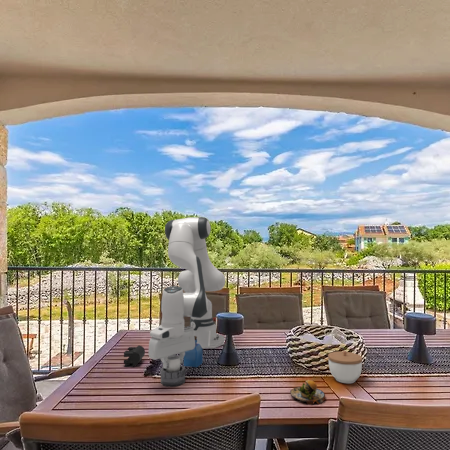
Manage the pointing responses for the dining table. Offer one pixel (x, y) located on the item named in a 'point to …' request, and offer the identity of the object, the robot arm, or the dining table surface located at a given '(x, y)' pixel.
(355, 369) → the lidded bowl
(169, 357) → the cap
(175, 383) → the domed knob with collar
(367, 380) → the dining table surface
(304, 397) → the burger
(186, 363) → the perfume bottle
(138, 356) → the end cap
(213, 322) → the robot arm
